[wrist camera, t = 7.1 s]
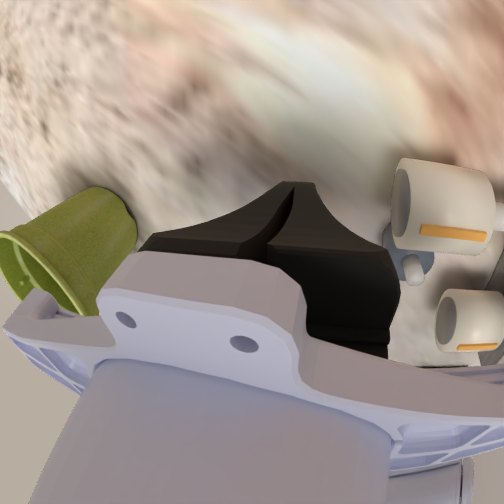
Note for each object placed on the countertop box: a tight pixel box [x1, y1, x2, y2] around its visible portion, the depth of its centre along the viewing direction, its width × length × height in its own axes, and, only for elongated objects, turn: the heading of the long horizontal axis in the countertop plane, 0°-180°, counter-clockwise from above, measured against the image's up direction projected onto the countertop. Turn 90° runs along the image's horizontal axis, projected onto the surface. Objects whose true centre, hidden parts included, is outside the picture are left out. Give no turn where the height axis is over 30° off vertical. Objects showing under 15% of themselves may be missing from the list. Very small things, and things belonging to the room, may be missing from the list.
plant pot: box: [0, 187, 137, 316], centre depth 17 cm, size 9×9×9 cm
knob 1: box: [391, 158, 504, 256], centre depth 10 cm, size 4×11×4 cm, turn 95°
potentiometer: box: [382, 223, 434, 286], centre depth 14 cm, size 4×3×4 cm
